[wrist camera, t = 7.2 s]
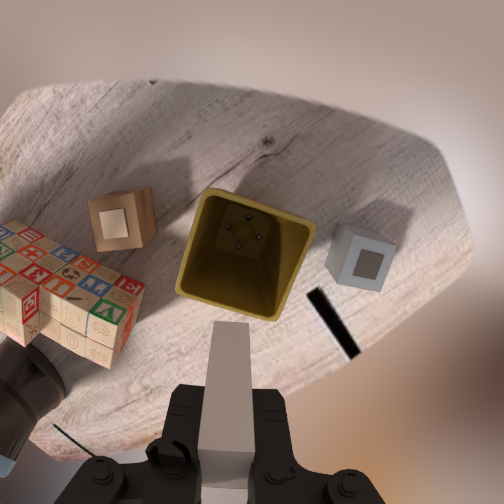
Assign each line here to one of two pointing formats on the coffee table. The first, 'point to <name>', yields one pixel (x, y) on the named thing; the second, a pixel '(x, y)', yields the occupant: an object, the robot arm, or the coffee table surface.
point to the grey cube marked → (359, 257)
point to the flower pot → (243, 254)
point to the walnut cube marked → (123, 219)
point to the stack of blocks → (63, 296)
